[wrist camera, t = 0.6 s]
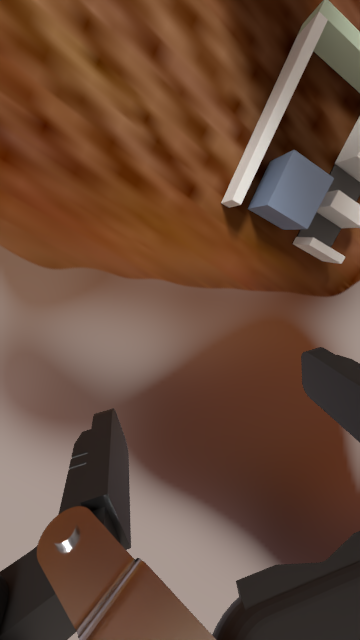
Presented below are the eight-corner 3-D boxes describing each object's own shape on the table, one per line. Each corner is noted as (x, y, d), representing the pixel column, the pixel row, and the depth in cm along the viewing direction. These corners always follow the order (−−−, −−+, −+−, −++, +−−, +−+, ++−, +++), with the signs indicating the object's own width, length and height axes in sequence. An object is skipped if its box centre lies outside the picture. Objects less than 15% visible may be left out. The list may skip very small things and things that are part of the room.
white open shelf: (302, 24, 29) (325, -3, 26) (402, 117, 34) (432, 105, 31) (221, 203, 33) (232, 199, 29) (322, 261, 38) (341, 263, 35)
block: (269, 161, 33) (294, 149, 28) (305, 185, 34) (334, 178, 30) (247, 209, 34) (267, 204, 29) (283, 229, 36) (307, 229, 31)
